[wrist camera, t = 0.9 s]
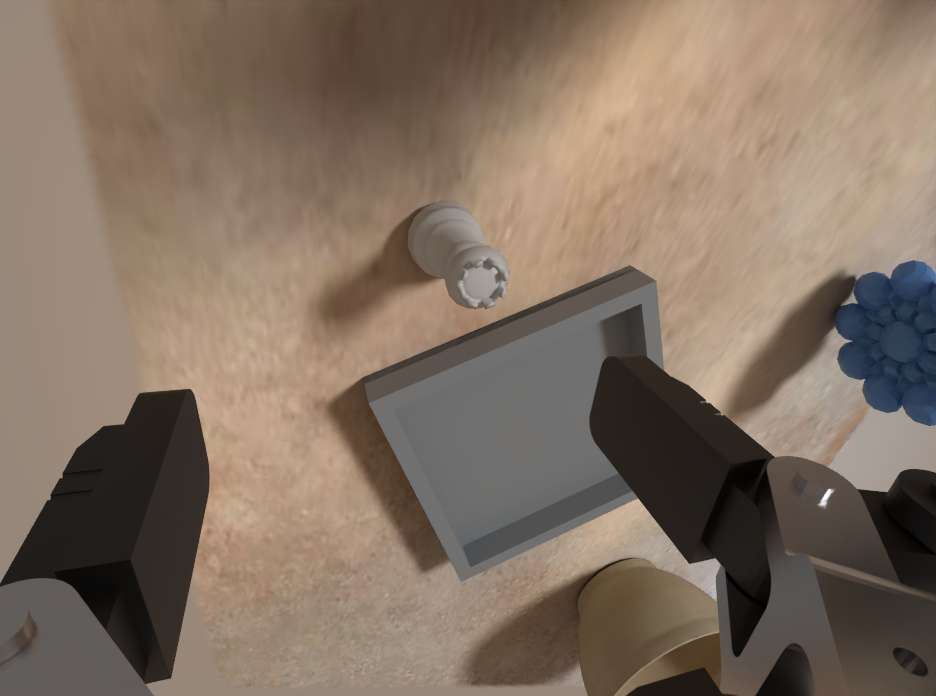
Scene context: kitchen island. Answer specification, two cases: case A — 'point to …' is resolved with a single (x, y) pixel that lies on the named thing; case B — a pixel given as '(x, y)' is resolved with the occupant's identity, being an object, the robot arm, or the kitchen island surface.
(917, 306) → the grapes
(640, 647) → the planter bowl
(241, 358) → the kitchen island surface
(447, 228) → the rook chess piece
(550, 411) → the tray
